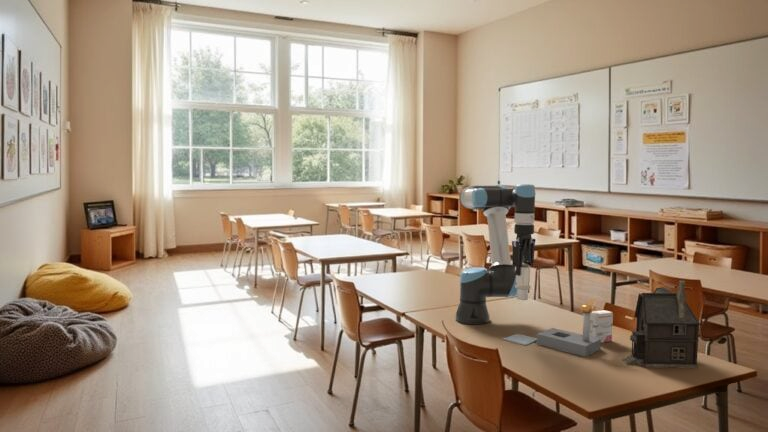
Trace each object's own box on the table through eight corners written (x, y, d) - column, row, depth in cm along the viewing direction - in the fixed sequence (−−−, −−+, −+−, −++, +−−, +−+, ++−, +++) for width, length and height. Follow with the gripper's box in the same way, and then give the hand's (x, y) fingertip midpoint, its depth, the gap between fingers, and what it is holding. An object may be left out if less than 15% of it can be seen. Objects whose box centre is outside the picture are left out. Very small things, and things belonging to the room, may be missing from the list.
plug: (511, 298, 221) (512, 264, 220) (519, 296, 225) (520, 262, 224) (524, 301, 217) (525, 266, 215) (533, 299, 221) (534, 264, 220)
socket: (536, 343, 217) (537, 306, 216) (552, 337, 226) (553, 301, 224) (585, 356, 203) (586, 316, 202) (600, 349, 211) (601, 310, 210)
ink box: (603, 337, 226) (604, 309, 225) (612, 341, 221) (613, 312, 220) (586, 340, 222) (587, 311, 221) (595, 343, 218) (596, 314, 217)
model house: (612, 351, 209) (615, 272, 207) (675, 352, 209) (679, 273, 206) (629, 367, 193) (633, 281, 190) (698, 368, 192) (703, 282, 190)
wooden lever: (589, 309, 221) (589, 297, 221) (598, 310, 219) (599, 298, 219) (580, 318, 208) (581, 306, 207) (590, 320, 206) (591, 307, 205)
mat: (503, 339, 223) (503, 338, 223) (517, 334, 230) (517, 333, 230) (525, 345, 215) (525, 344, 215) (538, 340, 222) (538, 339, 222)
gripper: (520, 226, 210) (518, 287, 212) (544, 223, 222) (542, 280, 224) (503, 224, 215) (502, 284, 217) (527, 221, 227) (526, 278, 229)
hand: (522, 282), depth 220 cm, fingers closed on plug, 4 cm apart
